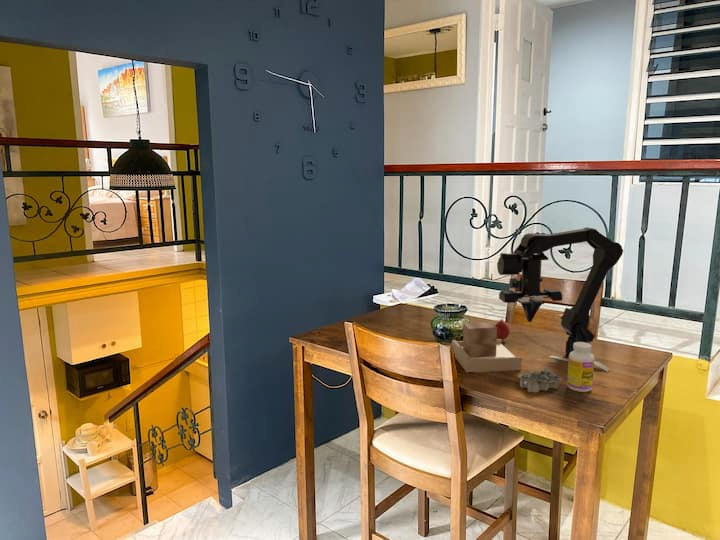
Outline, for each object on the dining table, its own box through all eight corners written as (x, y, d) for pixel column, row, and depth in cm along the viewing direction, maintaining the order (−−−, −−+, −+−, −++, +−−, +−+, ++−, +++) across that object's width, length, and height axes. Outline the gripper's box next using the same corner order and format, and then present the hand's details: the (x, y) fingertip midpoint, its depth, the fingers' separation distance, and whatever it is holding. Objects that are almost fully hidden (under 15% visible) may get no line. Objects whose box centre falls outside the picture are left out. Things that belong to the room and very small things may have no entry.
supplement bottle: (580, 394, 149) (583, 349, 147) (561, 386, 155) (564, 343, 152) (597, 389, 152) (600, 345, 150) (578, 381, 158) (581, 339, 155)
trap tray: (500, 350, 186) (500, 337, 185) (521, 370, 168) (521, 355, 167) (451, 352, 184) (451, 339, 183) (467, 372, 166) (467, 358, 165)
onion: (511, 343, 193) (512, 321, 191) (494, 343, 193) (495, 321, 191) (507, 338, 198) (507, 317, 197) (491, 338, 198) (491, 317, 197)
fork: (549, 363, 181) (549, 354, 180) (614, 372, 166) (613, 363, 165) (545, 365, 179) (545, 356, 179) (610, 374, 164) (609, 365, 163)
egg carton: (531, 394, 150) (531, 380, 150) (515, 384, 157) (515, 371, 157) (563, 389, 154) (564, 375, 153) (546, 379, 161) (547, 366, 160)
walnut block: (489, 350, 179) (490, 322, 177) (496, 356, 173) (496, 327, 171) (462, 351, 178) (463, 323, 176) (468, 357, 172) (468, 328, 170)
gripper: (548, 268, 181) (546, 313, 183) (493, 270, 179) (492, 316, 182) (564, 274, 170) (561, 323, 173) (506, 276, 168) (504, 325, 171)
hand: (529, 321), depth 175 cm, fingers closed
